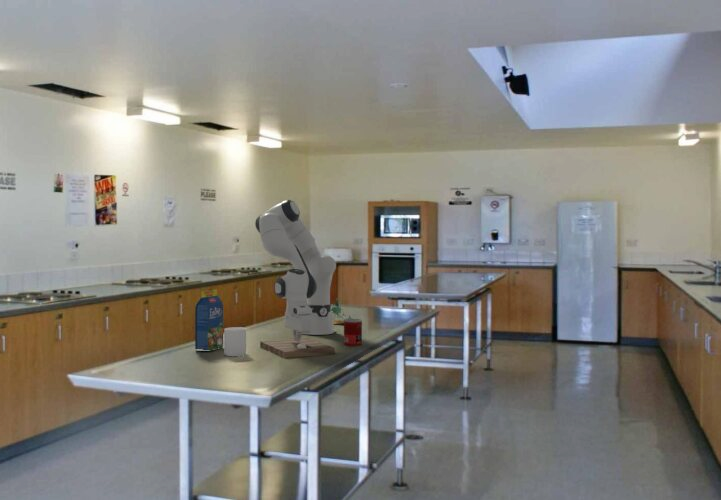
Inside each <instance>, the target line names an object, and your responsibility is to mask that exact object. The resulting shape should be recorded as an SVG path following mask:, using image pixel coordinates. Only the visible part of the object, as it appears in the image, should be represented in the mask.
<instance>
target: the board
mask: <svg viewBox="0 0 721 500" xmlns="http://www.w3.org/2000/svg"><path fill="white" fill-rule="evenodd" d="M300 343H303V344H305V345H306V347H307V348H302V349H299V348H297V346H298V344H300ZM259 344H260V345H259V347H260V348H261V349H263V350H265V351H267V352H269V351H270V353H272V354H274V355H276V356H279V357H281V358H282V359H291V358H300V357H312V356H322V355H323V356H325V355H326V356H327V355H333V354H335V353H336V351H335V349H336V348H335V347H334V346H331V345H328V344H325V343H323V342H320V341H317V340H314V339H312V338H309V337H306V338H305V337H304V338H302V337H301V340H300V341H295V340H294V338H291V339H289V338H288V339H278V340H277V339H276V340H275V339H274V340H262V341H260V343H259Z"/></svg>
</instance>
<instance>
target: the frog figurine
mask: <svg viewBox="0 0 721 500" xmlns="http://www.w3.org/2000/svg"><path fill="white" fill-rule="evenodd" d="M332 305H333V306H332V307H331V311H330V313H331V314H332V315H333V322H334V325H340V324H344V320H345V319H344V318H343V316H345V317H347V315H346V314H344V312H342V308H341V306H340V305H339V298H336V301H335V303H334V304H332ZM341 313H342V315H341ZM336 317H337V318H338V319H335V318H336ZM347 319H353V318H352V317H351V315H349V317H348V318H347Z"/></svg>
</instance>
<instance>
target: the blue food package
mask: <svg viewBox="0 0 721 500" xmlns="http://www.w3.org/2000/svg"><path fill="white" fill-rule="evenodd" d="M200 293H201V295H200V296H201V297H200V299H199V300H198V302H197V303H196V304H195V309H194V310H195V311H194V312H195V314H194V316H195V317H194V320H195V321H194V326H195V327H194V331H195V334H194V339H195V342H194V343H195V346H194V349H203V350H213V349H217V350H219V349H218V348H220V349H222V348H224V305H223V301H222V300H221V299H220V297H219V296H218V289H217V288H216V289H210V290H209V289H208V290H204V291H201V292H200ZM213 351H214V350H213Z"/></svg>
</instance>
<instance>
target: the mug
mask: <svg viewBox="0 0 721 500" xmlns="http://www.w3.org/2000/svg"><path fill="white" fill-rule="evenodd" d="M223 349H224V350H223V351H224V356H225V355H226V356H225V357H228V356H240V357H244V356H246V354H247V328H246V327H242V326H235V327H234V326H233V327H226V328H223ZM243 355H244V356H243Z"/></svg>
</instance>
